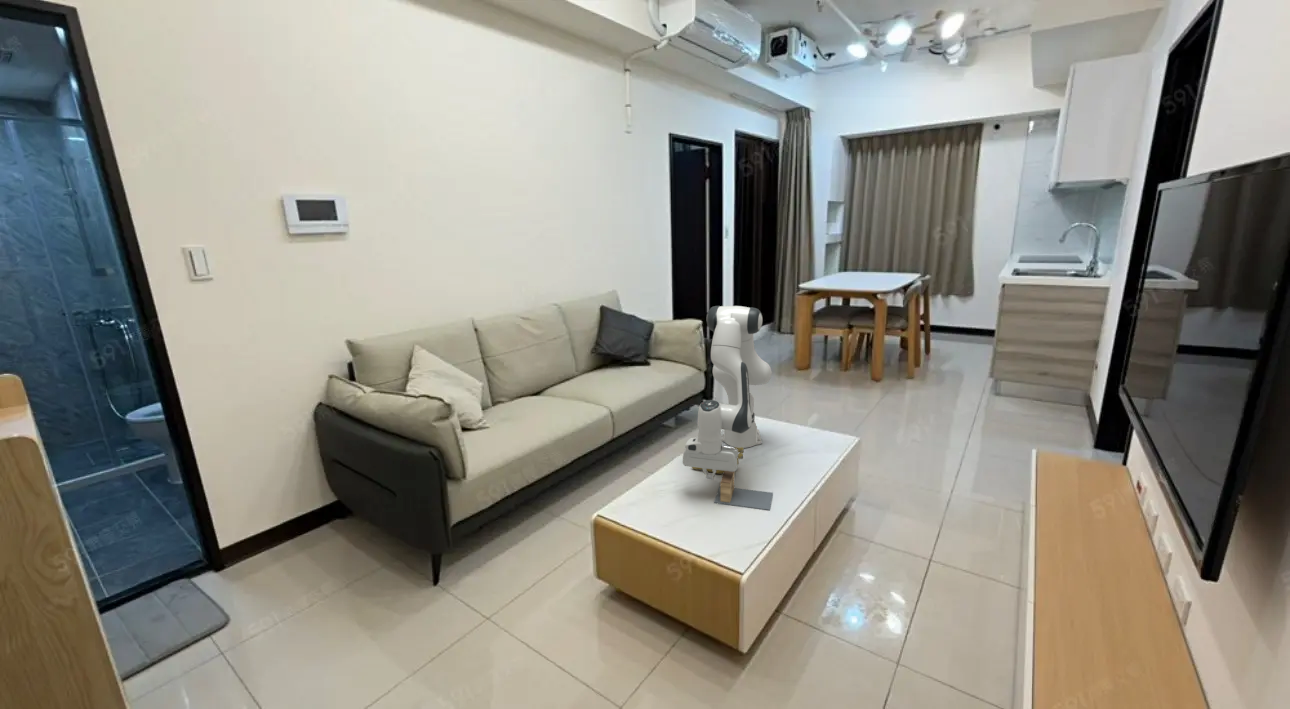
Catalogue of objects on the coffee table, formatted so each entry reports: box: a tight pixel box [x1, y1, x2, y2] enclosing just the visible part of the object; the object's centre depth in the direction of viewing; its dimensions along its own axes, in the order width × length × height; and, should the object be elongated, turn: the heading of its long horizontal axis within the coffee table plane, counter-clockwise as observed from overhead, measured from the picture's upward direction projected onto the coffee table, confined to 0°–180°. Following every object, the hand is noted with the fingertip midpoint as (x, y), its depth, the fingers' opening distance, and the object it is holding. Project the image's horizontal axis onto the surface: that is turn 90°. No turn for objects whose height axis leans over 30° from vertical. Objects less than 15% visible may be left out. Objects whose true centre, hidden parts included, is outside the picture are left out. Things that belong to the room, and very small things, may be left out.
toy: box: [690, 447, 745, 475], centre depth 215 cm, size 8×21×10 cm, turn 78°
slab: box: [720, 471, 735, 503], centre depth 196 cm, size 10×4×8 cm, turn 162°
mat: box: [713, 485, 774, 511], centre depth 195 cm, size 12×20×1 cm, turn 72°
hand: (709, 478), depth 197 cm, fingers closed
